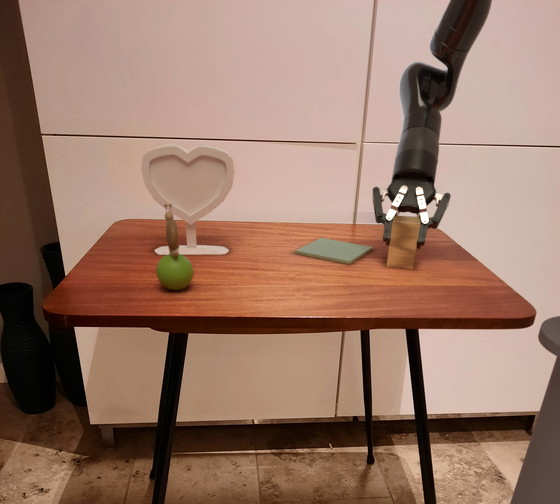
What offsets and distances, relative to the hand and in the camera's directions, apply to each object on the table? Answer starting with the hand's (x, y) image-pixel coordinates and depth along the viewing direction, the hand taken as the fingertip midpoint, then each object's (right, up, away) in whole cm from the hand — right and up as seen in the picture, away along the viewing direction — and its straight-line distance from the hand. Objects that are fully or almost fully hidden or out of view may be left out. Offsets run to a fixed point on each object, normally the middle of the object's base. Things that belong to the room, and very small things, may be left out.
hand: (403, 244), depth 94 cm
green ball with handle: (-37, -9, -10) cm, 40 cm away
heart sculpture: (-37, 0, +7) cm, 38 cm away
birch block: (0, -3, +4) cm, 5 cm away
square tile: (-11, +1, +9) cm, 14 cm away
